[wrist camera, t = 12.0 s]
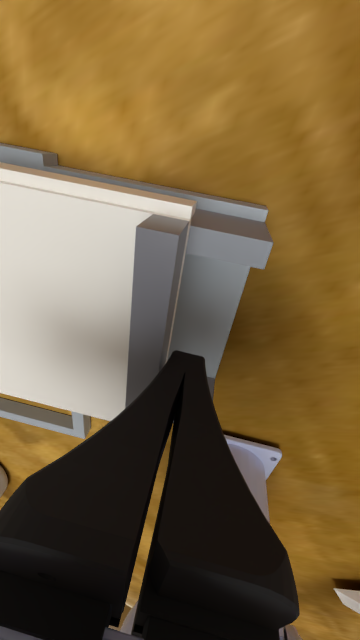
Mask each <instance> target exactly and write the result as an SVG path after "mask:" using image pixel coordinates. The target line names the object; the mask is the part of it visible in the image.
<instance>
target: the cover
mask: <svg viewBox="0 0 360 640" xmlns="http://www.w3.org/2000/svg"><path fill="white" fill-rule="evenodd" d="M196 204H197V201H194V200H189V199H184V198H179V197H173V196H168V195H163V194H158V193H153V192H148V191H143V190H138V189H133V188H128V187H123V186H118V185H113V184H108V183H103V182H98V181H93V180H88V179H82V178H77V177H72V176H67V175H62V174H57V173H52V172H47V171H42V170H37V169H32V168H27V167H22V166H17V165H12V164H7V163H2V162H0V393H3V394H7V395H11V396H15V397H18V398H22V399H26V400H30V401H34V402H38V403H42V404H46V405H49V406H53V407H57V408H61V409H65V410H69V411H73V412H77V413H80V414H84V415H88V416H92V417H96V418H100V419H104V420H108V421H111V420H113V419H114V418H115V417H116V416H117V415H119V414H120V413H121V412H122V411H123V410H124V409H125V408H126V407H128V406H129V405H130V404H131V403H132V402H133V401H134V400H135V399H136V398H137V397H138V396H139V395H140V394H141V393H142V391H143V390H144V389H145V388H146V387H147V386H148V385H149V384H150V383H151V382H152V380H153V379H154V378H155V377H156V376H157V374H158V373H159V372H160V371H161V369H162V368H163V367H164V365H165V364H166V362H167V359H168V353H169V348H170V342H171V336H172V330H173V324H174V318H175V312H176V306H177V300H178V294H179V289H180V283H181V277H182V271H183V265H184V259H185V253H186V247H187V241H188V236H189V230H190V224H191V218H192V216H193V215H194V213H195V209H196Z"/></svg>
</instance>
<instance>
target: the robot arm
mask: <svg viewBox="0 0 360 640" xmlns="http://www.w3.org/2000/svg"><path fill="white" fill-rule="evenodd" d="M173 421H174V424H173ZM172 424H173V431H172V439H171V446H170V453H169V461H168V467H167V473H166V478H165V482H164V487H163V491H162V496H161V501H160V505H159V510H158V514H157V519H156V523H155V528H154V532H153V537H152V541H151V546H150V550H149V555H148V559H147V564H146V568H145V573H144V577H143V582H142V586H141V591H140V595H139V600H138V601H137V602H136V604H135V606H134V607H133V608H132V609H131V610H130V611H129V613H128V615H127V616H126V618H125V620H124V622H123V625H122V628H121V630H120V631H117V630H114V629H111V628H108V627H109V625H111V626H115V627H118V626H119V622H120V618H121V614H122V612H123V611H124V606H125V602H126V598H127V594H128V590H129V586H130V582H131V577H132V573H133V569H134V565H135V561H136V557H137V552H138V548H139V544H140V540H141V536H142V532H143V528H144V524H145V519H146V515H147V511H148V507H149V503H150V499H151V495H152V491H153V486H154V482H155V478H156V474H157V470H158V467H159V464H160V460H161V457H162V454H163V451H164V448H165V445H166V442H167V439H168V436H169V433H170V430H171V427H172ZM281 457H282V452H281V450H280V449H278V448H275V447H271V446H267V445H263V444H259V443H255V442H251V441H247V440H243V439H239V438H235V437H231V436H227V435H224V434H223V431H222V429H221V426H220V423H219V420H218V417H217V414H216V411H215V408H214V405H213V401H212V397H211V393H210V389H209V385H208V380H207V375H206V367H205V359H204V357H203V356H199V355H194V354H190V353H186V352H182V351H178V350H175V351H173V352H172V354H171V356H170V358H169V359H168V361H167V362H166V364H165V365H164V367H163V368H162V369H161V371H160V372H159V373H158V374H157V376H156V377H155V378H154V379H153V380H152V382H151V383H150V384H149V385H148V386H147V387H146V388H145V389H144V390H143V391H142V393H141V394H140V395H139V396H138V397H137V398H136V399H135V400H134V401H133V402H132V403H131V404H130V405H129V406H128V407H126V408H125V409H124V410H123V411H122V412H121V413H120V414H119V415H117V416H116V417H115V418H114V419H113V420H111V421H110V422H109V423H108V424H107V425H105V426H104V427H103V428H102V429H100V430H99V431H98V432H96V433H95V434H94V435H92V436H91V437H90V438H88V439H87V440H85V441H84V442H82V443H81V444H80V445H78V446H77V447H75V448H74V449H72V450H71V451H70V452H68V453H67V454H65V455H64V456H62V457H60V458H59V459H57V460H56V461H54V462H52V463H51V464H49V465H47V466H46V467H44V468H42V469H41V470H39V471H37V472H36V473H34V474H32V475H31V476H29V477H28V478H26V480H25V481H24V482H23V483H22V484H21V485H20V486H19V487H18V489H17V490H16V491H15V492H14V493H13V495H12V496H11V497H10V498H9V500H8V501H7V502H6V503H5V505H4V506H3V507H2V509H1V510H0V640H303V639H302V638H301V637H300V635H298V632H297V630H296V628H295V627H294V626H293V625H290V623H292V622H293V621H295V620H296V619H297V617H298V616H299V603H298V595H297V590H296V585H295V581H294V576H293V572H292V568H291V564H290V561H289V557H288V554H287V551H286V549H285V548H284V546H283V544H282V543H281V541H280V540H279V538H278V537H277V535H276V533H275V532H274V530H273V529H272V527H271V525H270V521H269V510H268V499H267V488H266V480H267V478H268V477H269V475H270V474H271V472H272V471H273V469H274V468H275V466H276V465H277V463H278V462H279V460H280V459H281ZM283 627H284V633H283Z"/></svg>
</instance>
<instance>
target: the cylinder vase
mask: <svg viewBox="0 0 360 640" xmlns="http://www.w3.org/2000/svg"><path fill="white" fill-rule="evenodd" d="M7 485H8V478H7V475H6V473H5V471H4V469H3V468H2V467H1V466H0V497H1V496H2V494H3V493H4V491H5V490H6V488H7Z"/></svg>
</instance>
